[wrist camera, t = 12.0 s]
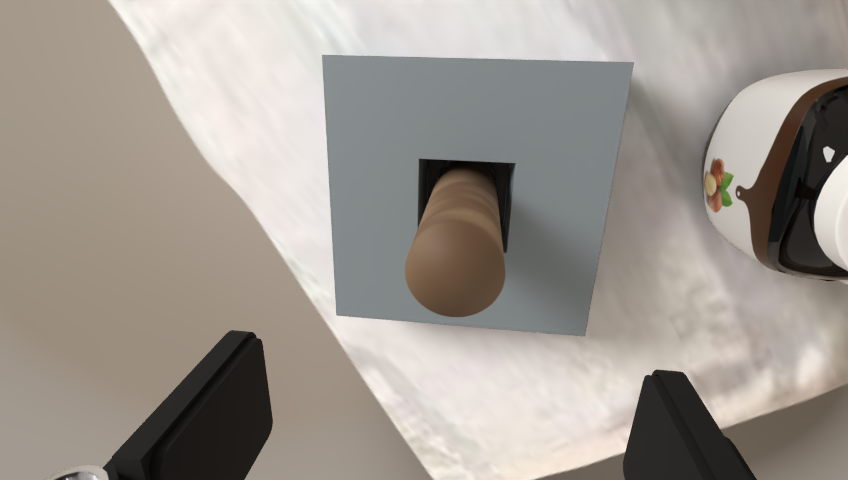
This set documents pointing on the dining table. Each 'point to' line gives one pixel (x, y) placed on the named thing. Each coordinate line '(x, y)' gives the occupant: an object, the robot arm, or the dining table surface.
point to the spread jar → (784, 173)
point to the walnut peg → (458, 243)
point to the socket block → (473, 141)
